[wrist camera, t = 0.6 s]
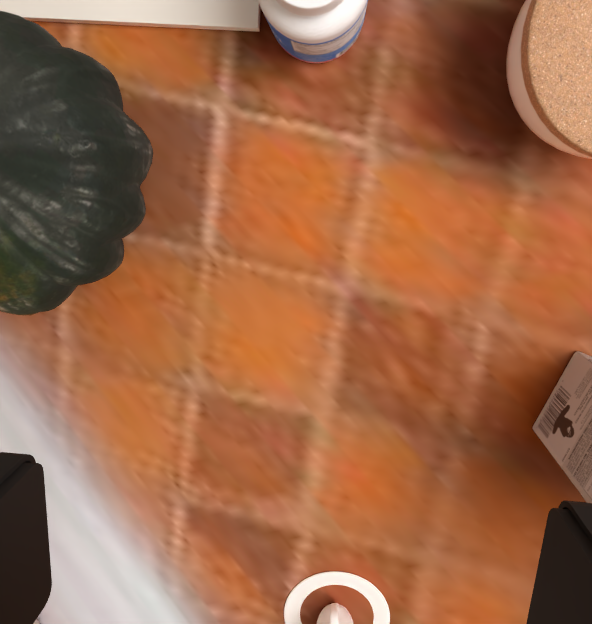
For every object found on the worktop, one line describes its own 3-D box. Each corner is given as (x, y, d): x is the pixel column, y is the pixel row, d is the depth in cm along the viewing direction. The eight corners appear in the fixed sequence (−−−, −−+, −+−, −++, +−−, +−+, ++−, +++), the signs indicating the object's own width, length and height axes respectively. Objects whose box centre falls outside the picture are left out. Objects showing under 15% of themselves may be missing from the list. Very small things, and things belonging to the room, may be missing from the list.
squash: (-177, 249, 31) (-187, 357, 21) (-150, -33, 28) (-145, -82, 17) (76, 277, 41) (161, 362, 30) (118, 68, 37) (232, 77, 26)
